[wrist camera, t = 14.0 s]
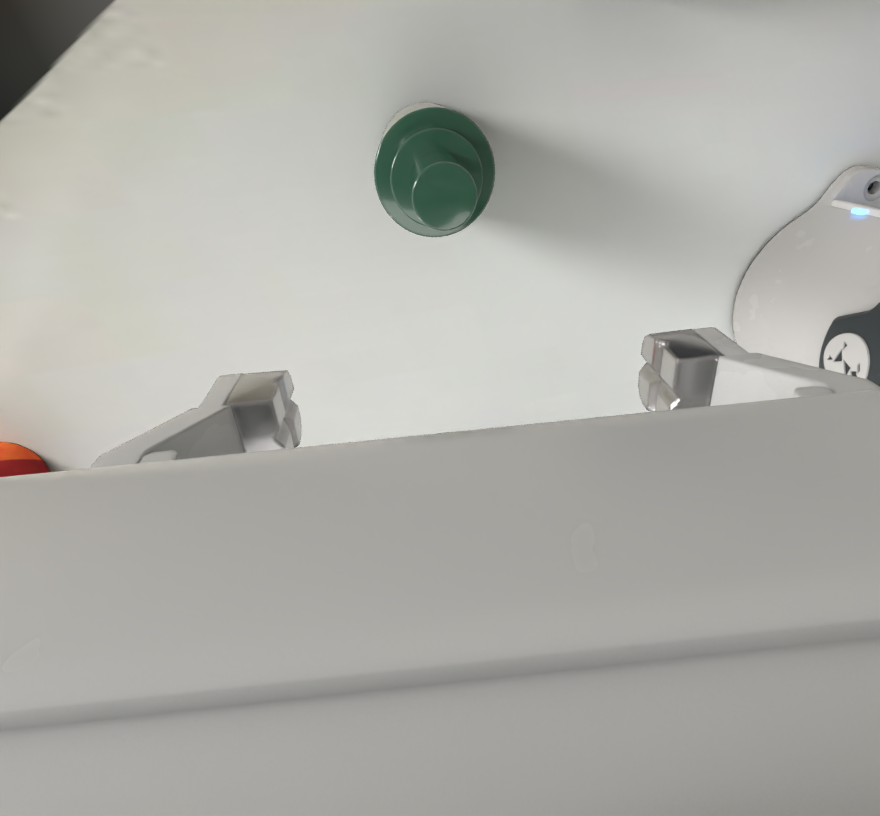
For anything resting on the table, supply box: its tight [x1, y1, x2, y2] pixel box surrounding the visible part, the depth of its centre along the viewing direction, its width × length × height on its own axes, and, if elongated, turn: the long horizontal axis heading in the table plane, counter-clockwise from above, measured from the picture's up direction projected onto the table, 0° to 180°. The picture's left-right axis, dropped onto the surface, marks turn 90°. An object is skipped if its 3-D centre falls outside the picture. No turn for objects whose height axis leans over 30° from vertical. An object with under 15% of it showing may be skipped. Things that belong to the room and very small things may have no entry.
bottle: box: [374, 102, 495, 237], centre depth 30 cm, size 6×6×18 cm
